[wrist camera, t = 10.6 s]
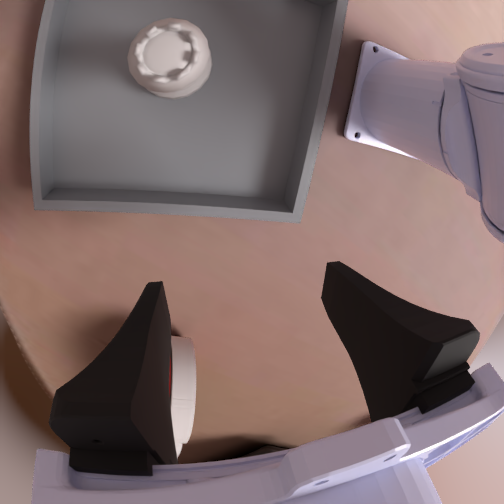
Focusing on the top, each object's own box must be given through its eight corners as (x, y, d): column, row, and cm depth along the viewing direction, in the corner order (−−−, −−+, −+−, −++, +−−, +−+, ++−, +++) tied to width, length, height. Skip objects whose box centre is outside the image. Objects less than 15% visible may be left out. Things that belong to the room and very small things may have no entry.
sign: (164, 424, 37) (168, 487, 29) (151, 423, 36) (154, 486, 28) (192, 315, 27) (200, 411, 19) (172, 312, 26) (174, 409, 18)
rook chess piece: (193, 109, 17) (195, 125, 11) (128, 86, 16) (89, 90, 9) (224, 47, 16) (248, 24, 9) (158, 23, 14) (139, -14, 7)
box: (329, 3, 15) (349, -5, 13) (287, 206, 23) (300, 223, 21) (69, -19, 11) (54, -31, 8) (50, 193, 19) (34, 210, 16)
